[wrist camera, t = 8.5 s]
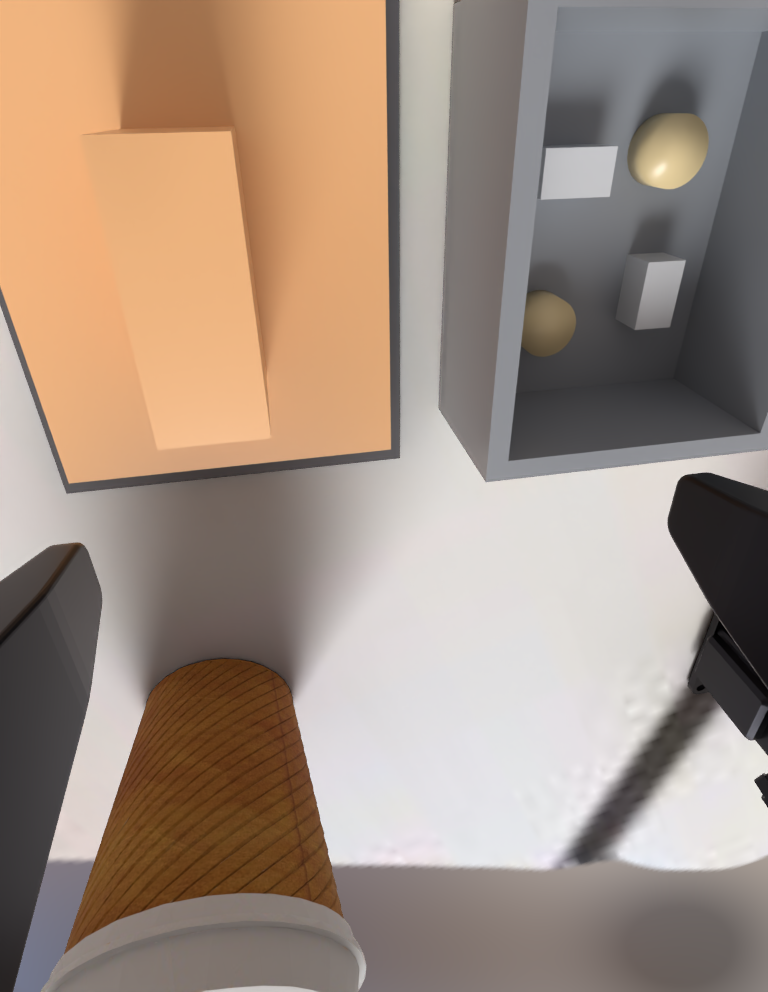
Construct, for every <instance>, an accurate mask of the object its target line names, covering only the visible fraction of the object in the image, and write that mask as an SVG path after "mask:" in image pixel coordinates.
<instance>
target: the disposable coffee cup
mask: <svg viewBox="0 0 768 992" xmlns="http://www.w3.org/2000/svg"><path fill="white" fill-rule="evenodd" d="M316 804H317V802H316V799H315V795H314V792H313V785H312V782H311V778H310V773H309V768H308V765H307V759H306V756H305V753H304V747H303V743H302V740H301V734H300V730H299V727H298V722H297V718H296V714H295V709H294V705H293V698H292V695H291V692H290V689H289V687H288V685H287V684H286V682H285V681H284V680H283V679H282V678H281V677H280V676H279V675H278V674H277V673H275V672H273V671H272V670H270V669H268V668H266V667H264V666H262V665H259V664H256V663H254V662H249V661H244V660H239V659H215V660H207V661H203V662H199V663H195V664H191V665H188V666H185V667H183V668H180V669H178V670H177V671H175V672H173V673H172V674H170V675H168V676H167V677H165V678H164V679H163V680H162V681H161V682H160V683H159V684H158V685H156V687H155V688H154V689H153V691H152V692H151V693H150V696H149V698H148V700H147V703H146V707H145V710H144V713H143V716H142V719H141V722H140V725H139V728H138V732H137V735H136V738H135V740H134V743H133V747H132V750H131V753H130V756H129V758H128V762H127V765H126V768H125V771H124V774H123V777H122V780H121V783H120V785H119V788H118V792H117V795H116V798H115V801H114V804H113V807H112V810H111V813H110V816H109V819H108V823H107V826H106V828H105V831H104V834H103V837H102V841H101V844H100V847H99V850H98V853H97V856H96V859H95V862H94V865H93V868H92V871H91V873H90V876H89V880H88V883H87V886H86V889H85V892H84V895H83V898H82V902H81V904H80V907H79V910H78V913H77V916H76V919H75V922H74V925H73V928H72V931H71V934H70V937H69V940H68V943H67V947H66V950H65V953H64V955H63V956H62V957H61V959H60V960H59V962H58V963H57V965H56V967H55V968H54V970H53V971H52V973H51V976H50V979H49V981H48V982H47V983H46V984H45V985H44V987H43V989H42V990H41V992H358V990H359V989H360V987H361V985H362V983H363V981H364V979H365V972H366V962H365V957H364V954H363V952H362V950H361V948H360V946H359V944H358V942H357V940H355V939H354V936H353V934H352V931H351V928H350V926H349V924H348V923H347V922H346V921H345V920H344V919H343V914H342V911H341V904H340V900H339V897H338V894H337V890H336V883H335V880H334V877H333V873H332V866H331V862H330V859H329V856H328V848H327V845H326V842H325V839H324V831H323V828H322V825H321V822H320V816H319V811H318V807H317V805H316Z"/></svg>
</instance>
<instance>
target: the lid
mask: <svg viewBox="0 0 768 992" xmlns="http://www.w3.org/2000/svg"><path fill="white" fill-rule="evenodd" d="M0 287H1V290H2V293H3V296H4V299H5V301H6V304H7V307H8V310H9V313H10V316H11V319H12V322H13V324H14V327H15V330H16V333H17V336H18V339H19V342H20V344H21V347H22V350H23V353H24V356H25V359H26V362H27V365H28V367H29V370H30V373H31V376H32V379H33V382H34V385H35V388H36V390H37V393H38V396H39V399H40V402H41V405H42V408H43V411H44V413H45V416H46V419H47V422H48V425H49V428H50V431H51V433H52V436H53V439H54V442H55V445H56V448H57V451H58V454H59V456H60V459H61V462H62V465H63V468H64V471H65V474H66V477H67V479H68V482H69V484H70V483H79V482H89V481H98V480H108V479H117V478H126V477H136V476H145V475H155V474H164V473H174V472H183V471H193V470H202V469H211V468H221V467H230V466H240V465H249V464H259V463H268V462H278V461H287V460H296V459H306V458H315V457H325V456H334V455H344V454H353V453H363V452H372V451H381V450H391V407H390V325H389V244H388V163H387V81H386V0H0Z"/></svg>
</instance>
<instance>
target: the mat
mask: <svg viewBox="0 0 768 992" xmlns="http://www.w3.org/2000/svg"><path fill="white" fill-rule="evenodd" d="M386 81H387V163H388V244H389V325H390V407H391V450H381V451H372V452H363V453H353V454H344V455H334V456H325V457H315V458H306V459H296V460H287V461H278V462H268V463H259V464H249V465H240V466H230V467H221V468H211V469H202V470H193V471H183V472H174V473H164V474H155V475H145V476H136V477H126V478H117V479H108V480H98V481H89V482H79V483H70V484H69V482H68V479H67V477H66V474H65V471H64V468H63V465H62V462H61V459H60V456H59V454H58V451H57V448H56V445H55V442H54V439H53V436H52V433H51V431H50V428H49V425H48V422H47V419H46V416H45V413H44V411H43V408H42V405H41V402H40V399H39V396H38V393H37V390H36V388H35V385H34V382H33V379H32V376H31V373H30V370H29V367H28V365H27V362H26V359H25V356H24V353H23V350H22V347H21V344H20V342H19V339H18V336H17V333H16V330H15V327H14V324H13V322H12V319H11V316H10V313H9V310H8V307H7V304H6V301H5V299H4V296H3V293H2V290H1V287H0V306H1V308H2V311H3V314H4V317H5V320H6V323H7V325H8V328H9V331H10V334H11V337H12V340H13V342H14V345H15V348H16V351H17V354H18V357H19V360H20V362H21V365H22V368H23V371H24V374H25V377H26V379H27V382H28V385H29V388H30V391H31V394H32V396H33V399H34V402H35V405H36V408H37V411H38V414H39V416H40V419H41V422H42V425H43V428H44V431H45V433H46V436H47V439H48V442H49V445H50V448H51V451H52V453H53V456H54V459H55V462H56V465H57V468H58V470H59V473H60V476H61V479H62V482H63V485H64V487H65V490H66V493H76V492H86V491H95V490H104V489H114V488H123V487H133V486H142V485H151V484H161V483H170V482H180V481H189V480H198V479H208V478H217V477H227V476H236V475H245V474H255V473H264V472H274V471H283V470H292V469H302V468H311V467H320V466H330V465H339V464H349V463H358V462H367V461H377V460H386V459H396V458H400V303H399V0H386Z"/></svg>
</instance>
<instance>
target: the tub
mask: <svg viewBox="0 0 768 992" xmlns="http://www.w3.org/2000/svg"><path fill="white" fill-rule="evenodd" d="M439 410H440V411H441V413H442V415H443V416H444V418H445V419H446V421H447V422H448V424H449V425H450V427H451V429H452V430H453V432H454V433H455V435H456V436H457V438H458V439H459V441H460V443H461V444H462V446H463V447H464V449H465V450H466V452H467V454H468V455H469V457H470V458H471V460H472V461H473V463H474V464H475V466H476V468H477V469H478V471H479V472H480V474H481V475H482V477H483V478H484V480H485V482H491V481H500V480H508V479H517V478H526V477H535V476H543V475H552V474H561V473H569V472H578V471H587V470H595V469H604V468H613V467H622V466H630V465H639V464H648V463H656V462H665V461H674V460H682V459H691V458H700V457H708V456H717V455H726V454H735V453H743V452H752V451H761V450H768V0H461V1H459V2H457V3H455V4H454V10H453V37H452V64H451V92H450V119H449V146H448V174H447V201H446V228H445V256H444V283H443V310H442V338H441V365H440V392H439Z"/></svg>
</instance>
